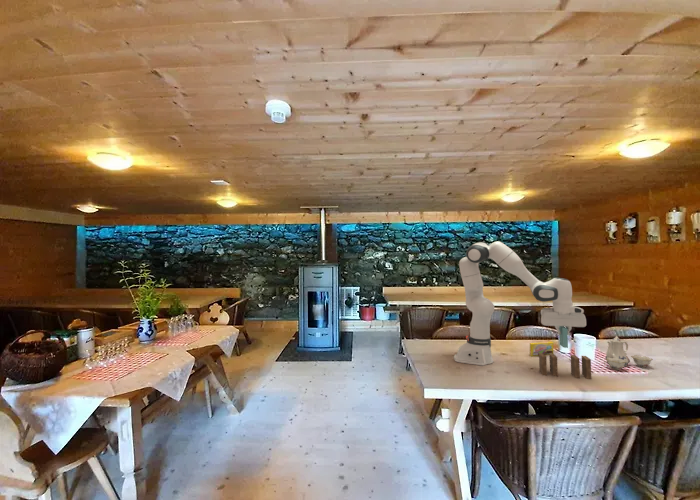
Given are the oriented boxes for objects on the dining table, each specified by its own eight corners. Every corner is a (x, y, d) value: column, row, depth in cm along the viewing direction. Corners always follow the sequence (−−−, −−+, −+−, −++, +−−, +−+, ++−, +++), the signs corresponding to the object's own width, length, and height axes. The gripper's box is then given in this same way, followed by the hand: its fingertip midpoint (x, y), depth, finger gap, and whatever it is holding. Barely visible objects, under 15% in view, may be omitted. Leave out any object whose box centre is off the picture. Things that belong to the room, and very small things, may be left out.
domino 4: (586, 378, 163) (586, 359, 163) (582, 374, 169) (581, 355, 169) (591, 379, 162) (590, 359, 163) (586, 375, 168) (585, 355, 168)
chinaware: (619, 376, 169) (622, 346, 168) (588, 363, 185) (590, 335, 184) (656, 370, 177) (659, 341, 176) (623, 358, 193) (626, 331, 192)
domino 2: (553, 376, 167) (552, 357, 168) (549, 372, 173) (549, 353, 173) (557, 376, 167) (557, 357, 167) (554, 372, 173) (553, 353, 173)
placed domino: (563, 347, 166) (562, 328, 166) (559, 344, 172) (559, 325, 172) (568, 347, 166) (567, 328, 166) (563, 344, 171) (563, 326, 172)
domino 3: (575, 377, 164) (574, 358, 165) (571, 373, 170) (570, 355, 170) (580, 378, 164) (579, 358, 164) (575, 374, 170) (574, 355, 170)
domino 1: (542, 375, 169) (542, 356, 169) (539, 371, 175) (538, 352, 175) (546, 375, 168) (546, 356, 168) (543, 371, 174) (543, 353, 174)
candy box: (531, 357, 199) (531, 343, 199) (529, 356, 201) (528, 342, 201) (554, 355, 202) (553, 342, 202) (551, 354, 204) (550, 341, 204)
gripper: (542, 308, 169) (542, 334, 169) (587, 309, 163) (588, 337, 163) (538, 306, 175) (539, 332, 175) (582, 307, 169) (583, 334, 169)
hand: (563, 334), depth 169 cm, fingers closed on placed domino, 2 cm apart
